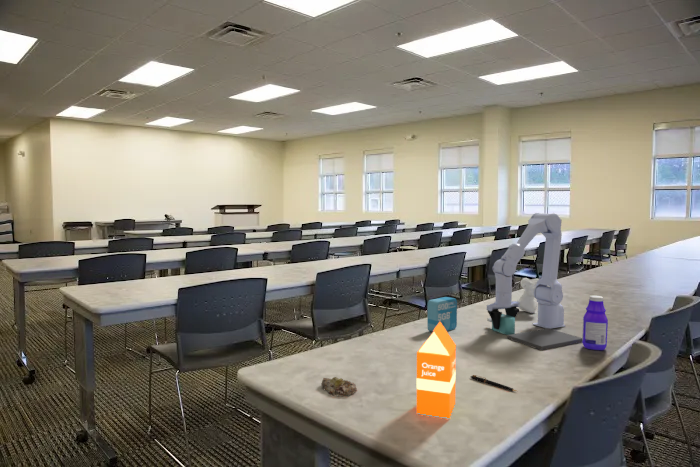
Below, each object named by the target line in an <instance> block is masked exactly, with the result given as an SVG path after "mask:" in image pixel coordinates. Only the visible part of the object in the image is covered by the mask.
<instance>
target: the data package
mask: <svg viewBox="0 0 700 467" xmlns="http://www.w3.org/2000/svg"><path fill="white" fill-rule="evenodd" d="M426 318H427V321H426V322H427V327H426V329H427V330H428V331H429V332H430V333H432V332H434V331H433V330H434V329H435V327H436V326H437V325H438V323H439V322H441V323H442V325H443V326H444V328H445V329H446V331H447V332H449V331H452V330H456V329H457V326H458V300H457V299H456V298H454V297H450V296H444V297H438V298H433V299H429V300H428V301H427V317H426Z"/></svg>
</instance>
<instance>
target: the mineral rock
mask: <svg viewBox="0 0 700 467" xmlns="http://www.w3.org/2000/svg"><path fill="white" fill-rule="evenodd" d="M322 378H323V379H322V381H321V385H320V386H321V388H322V389H323V390H324V389H325V391H326V390H327V392H328V394H329V395H332V396H337V395H338V397H343V396H351V395H353V394H354V393H356V392H358V389H357V386H356V383H355V382H351V381H348V380H345V379H343V378H338V377H337V376H334V377H332V378H330V377H329V378H328V377H322ZM342 395H343V396H342Z"/></svg>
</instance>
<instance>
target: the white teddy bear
mask: <svg viewBox="0 0 700 467" xmlns="http://www.w3.org/2000/svg"><path fill="white" fill-rule="evenodd" d="M540 279H541V278H532V279H530V278H527V277H523V278H522V279H521V280H520V286H521V288H522V289H524V291H523V293H522V295H521V296H520V297H519V298H518V299H517V300H516V301H517V302H520V307H518V309H519V310H521V311H524V312H526V313H529V314H534V313H535V312H536V311H537V309H538V302H537V299H536V298H535V297H534V289H535V287H536V284H537V281H538V280H540Z"/></svg>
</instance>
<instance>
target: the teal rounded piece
mask: <svg viewBox="0 0 700 467" xmlns="http://www.w3.org/2000/svg"><path fill="white" fill-rule="evenodd" d="M487 322H490V323H491V330H492V331H494V332H496V333H500V334H503V335H506V336H508V335H511V334H516V331H515V329H516V317H512V316H508V315H506V313H505V314H504V313H502V314H501V318H500V327H499V329H498V330H497V329H494V327H493V323H492V319H491V317H489V318H487Z"/></svg>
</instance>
